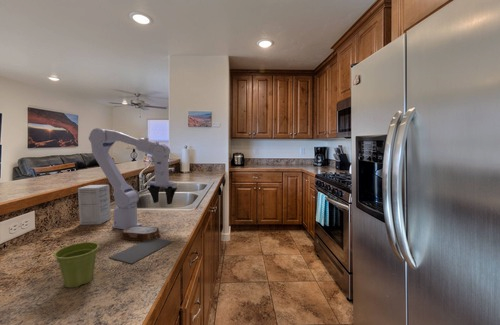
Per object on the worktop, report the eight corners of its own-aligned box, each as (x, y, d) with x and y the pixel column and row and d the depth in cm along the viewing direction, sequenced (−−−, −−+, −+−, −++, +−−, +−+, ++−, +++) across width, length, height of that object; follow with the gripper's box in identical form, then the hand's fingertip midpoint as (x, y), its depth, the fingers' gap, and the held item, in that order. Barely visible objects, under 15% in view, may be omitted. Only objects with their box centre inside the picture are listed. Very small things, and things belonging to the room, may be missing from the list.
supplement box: (111, 218, 117) (110, 184, 116) (100, 224, 108) (98, 187, 107) (91, 218, 117) (90, 184, 116) (78, 224, 108) (77, 187, 107)
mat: (108, 258, 76) (108, 257, 76) (152, 238, 92) (152, 237, 92) (131, 264, 72) (131, 263, 72) (173, 242, 88) (173, 241, 88)
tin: (150, 241, 88) (163, 235, 96) (150, 232, 88) (163, 227, 96) (115, 238, 91) (131, 232, 100) (115, 230, 91) (131, 225, 100)
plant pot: (87, 291, 58) (85, 256, 58) (46, 293, 58) (44, 258, 57) (107, 271, 68) (105, 241, 67) (72, 272, 67) (70, 242, 66)
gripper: (181, 171, 105) (182, 202, 106) (155, 170, 110) (156, 199, 111) (169, 173, 98) (170, 206, 99) (143, 172, 104) (144, 203, 105)
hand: (162, 203), depth 105 cm, fingers open, 7 cm apart
